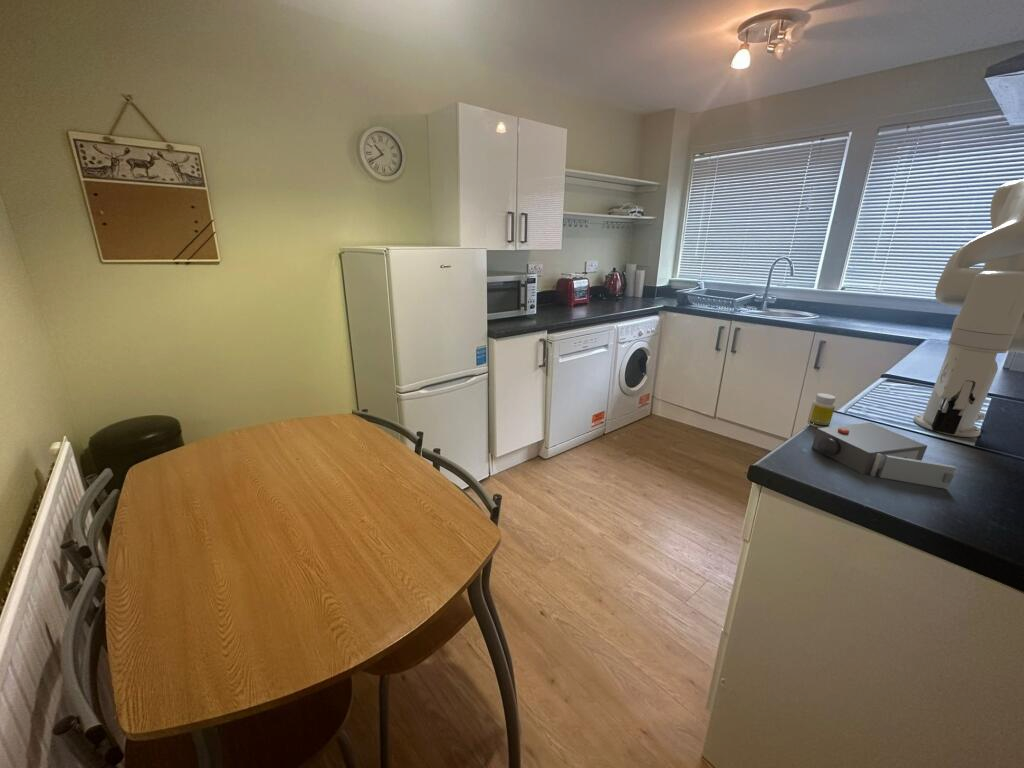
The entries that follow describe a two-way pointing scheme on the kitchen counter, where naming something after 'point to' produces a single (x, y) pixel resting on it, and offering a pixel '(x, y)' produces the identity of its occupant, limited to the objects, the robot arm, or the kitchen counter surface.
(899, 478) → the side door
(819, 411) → the supplement bottle
